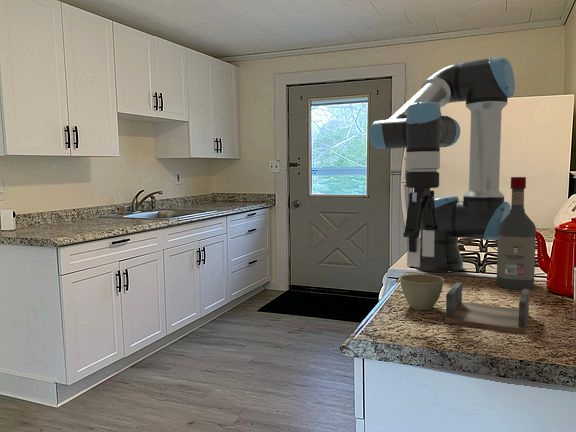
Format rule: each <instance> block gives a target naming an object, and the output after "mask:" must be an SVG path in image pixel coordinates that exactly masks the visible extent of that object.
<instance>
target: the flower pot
mask: <svg viewBox="0 0 576 432" xmlns="http://www.w3.org/2000/svg"><path fill="white" fill-rule="evenodd" d="M399 281H400V285H401V289H402V293H403V296H404V298H405V300H406V302H407V303H408V305H409V307H410V308H411V309H413V310H415V311H429V310H433V308H434V306H435V305H436V304H437V302H438V300H439V298H440V296H441V293H442V290H443V287H444V281H445V279H444V278H443V277H440V276H437V275H434V274H426V273H412V274H411V273H410V274H403V275H402V276H400V278H399Z"/></svg>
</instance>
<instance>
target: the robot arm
mask: <svg viewBox="0 0 576 432" xmlns="http://www.w3.org/2000/svg"><path fill="white" fill-rule="evenodd" d="M515 90H516V81H515V75H514V70H513V66H512V65H511V61H509V60H508V59H507V57H489V58H482V59H477V60H471V61H465V62H458V63H457V62H456V63H453V64H450V65H448V66H446V67H443V68H441V69H440V70H438V71H437V72H435V73H433V74H432V75H430V76H429V77H428V78H427V79H426V80H424V82H423V83H422V84H421V85H420V89H419V91H417V92H416V93H415V94H414V95H413V96H412V97H411V98H410V99H408V100H407V101H406V103H404V104H403V105H402V106H400V108H399V109H398V110H396V111H395V112H394V113H393V114H391V116H390V117H389V118H387V119H380V120H375V121H373V122H372V123H371V125H370V127H369V131H368V138H369V142H370V145H371V146H372V147H373V148H374V149H377V150H378V149H379V150H381V149H384V150H392V149H406V150H405V151H406V154H405V155H406V156H404V157H403V160H404V161H405V162H406V163H405V168H406V169H407V170H408V172H406V173H405V186H406V188H408V189H413V192H409V193H408V206H407V213H406V219H405V226H404V232H403V235H402V236H403V238H407V240H406V241H407V243H406V244H407V245H406V246H407V248H406V250H407V252H406V253H407V254H406V266H407V267H414V268H415V267H416V268H415V269H418V270H420V269H421V270H420V271H424V270H426V271H425V272H430V271H432V272H431V273H449V272H448V271H456V272H458V271H457V270H460V271H462V270H463V269H464V262H463V258H462V255H461V252H460V249H459V245H458V244H459V243H458V242H459V241H458V238H461V239H473V240H484V241H498V228H499V225H500V224H501V222H502V221H503V220H504V219H505V218H506V217H507V216H508V214H509V213H510V210H511V204H510V202H507V201H505V195H504V194H503V193H502V192H501V190H500V172H501V171H500V170H501V169H500V167H501V165H500V164H501V143H502V142H501V140H502V139H501V138H502V111H503V109H504V108H505V107H507V105H508V98H511V97H513V96H514V95H515ZM460 102H465V107H466V108H467V109H468V111H469V112H470V129H469V130H470V131H469V132H470V133H469V134H470V135H469V138H470V139H469V165H468V167H469V169H468V171H469V173H468V190H467V192H465V193H464V194H463V196H462V197H463V198H462V199H463V200H460V198H459V196H457V195H453V196H445V197H436V198H435V191H434V190H431V189H437V188H439V187H440V172H439V171H438V170H439V169H441V148H447V147H450V146H453V145H454V144H456V143H457V142H458V140H459V138H460V136H461V127H460V124H459V122H458V121H457V120H455V119H454V118H452V117H451V116H448V115H443V114H442V111H441V108H443V107H445V106H446V105H447V104H450V103H451V104H452V103H460ZM462 268H463V269H462ZM461 269H462V270H461Z"/></svg>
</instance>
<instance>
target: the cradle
mask: <svg viewBox="0 0 576 432" xmlns="http://www.w3.org/2000/svg"><path fill="white" fill-rule="evenodd" d="M521 291H522V292H521V296H520V299H519V302H518V308H515V307H506V306H497V305H491V304H490V305H488V304H481V303H479V304H478V303H471V302H463V283H462V282H455V284H454V285H453V286H452V287H451V288H450V289H449V291H448V292H447V293H446V297H445V299H446V301H445V302H446V303H445V319H444V324H451V325H459V326H466V327H472V328H479V329H486V330H494V331H499V332H501V331H502V332H509V333H515V334H520V335H521V334H522V335H523V334H524V335H525V334H526V329H527V325H528V319H529V313H530V312H529V311H530V309H529V306H530V290H529V289H523V290H521Z"/></svg>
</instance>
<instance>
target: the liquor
mask: <svg viewBox="0 0 576 432" xmlns="http://www.w3.org/2000/svg"><path fill="white" fill-rule="evenodd" d="M526 182H527V177H526V176H511V177H510V189H511V204H510V213H509V214H508V216H507V217H506V218H505V219H504V220H503V221H502V222H501V224H500V225H499V228H498V240H497V247H496V248H497V251H496V254H497V256H496V284H497V286H498V287H499V288H502V289H507V290H516V291H523V289H529V291H530V290H533V288H534V286H535V269H536V267H535V265H536V263H535V262H536V236H537V235H536V233H537V228H536V227H537V226H536V225H535V223H534V221H532V219H531V218H530V217H529V216H528V215H527V213H526V211H525V189H527V183H526Z"/></svg>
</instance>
